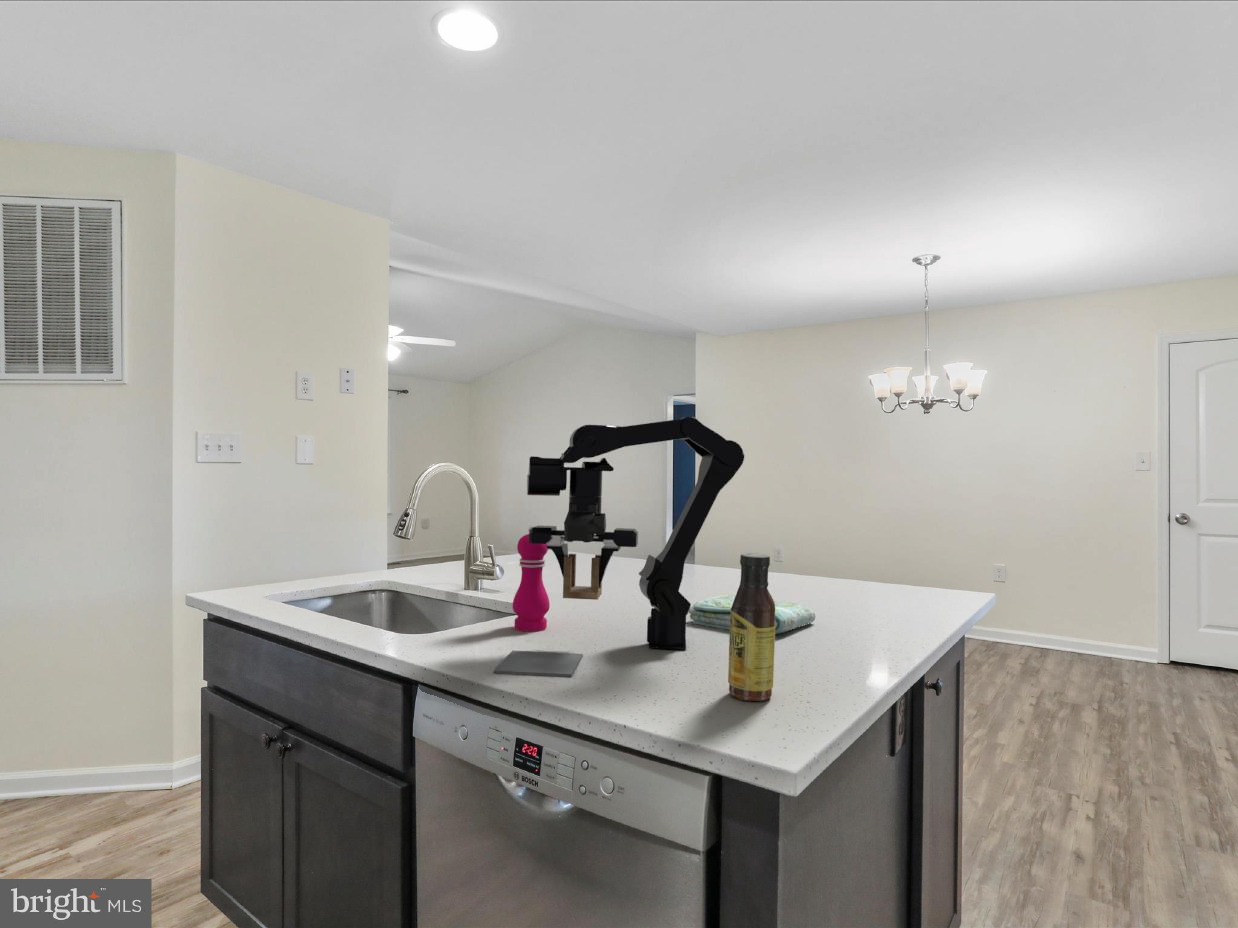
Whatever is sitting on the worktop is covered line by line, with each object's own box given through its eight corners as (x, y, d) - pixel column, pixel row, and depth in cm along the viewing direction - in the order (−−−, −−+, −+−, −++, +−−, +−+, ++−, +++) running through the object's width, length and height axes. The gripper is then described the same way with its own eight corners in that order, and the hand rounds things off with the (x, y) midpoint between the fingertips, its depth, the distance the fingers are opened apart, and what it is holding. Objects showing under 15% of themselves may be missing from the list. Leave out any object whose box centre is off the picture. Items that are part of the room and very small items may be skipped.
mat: (582, 656, 116) (582, 653, 116) (571, 676, 104) (571, 674, 104) (512, 652, 117) (512, 650, 117) (493, 672, 105) (493, 670, 105)
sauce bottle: (723, 689, 100) (726, 550, 100) (765, 689, 101) (768, 551, 101) (734, 704, 94) (737, 556, 94) (779, 704, 94) (782, 557, 94)
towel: (726, 612, 159) (727, 589, 159) (816, 625, 147) (817, 601, 147) (684, 624, 145) (685, 599, 145) (781, 641, 132) (781, 614, 132)
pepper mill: (552, 624, 140) (554, 525, 140) (544, 632, 132) (547, 527, 133) (516, 623, 140) (519, 523, 141) (507, 631, 133) (510, 526, 133)
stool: (601, 593, 125) (602, 554, 125) (597, 599, 119) (598, 558, 119) (568, 592, 126) (569, 553, 126) (562, 598, 120) (564, 557, 120)
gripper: (523, 496, 116) (520, 590, 115) (635, 499, 114) (632, 595, 114) (536, 494, 127) (534, 580, 126) (639, 497, 125) (636, 584, 125)
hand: (582, 585), depth 123 cm, fingers closed on stool, 5 cm apart
